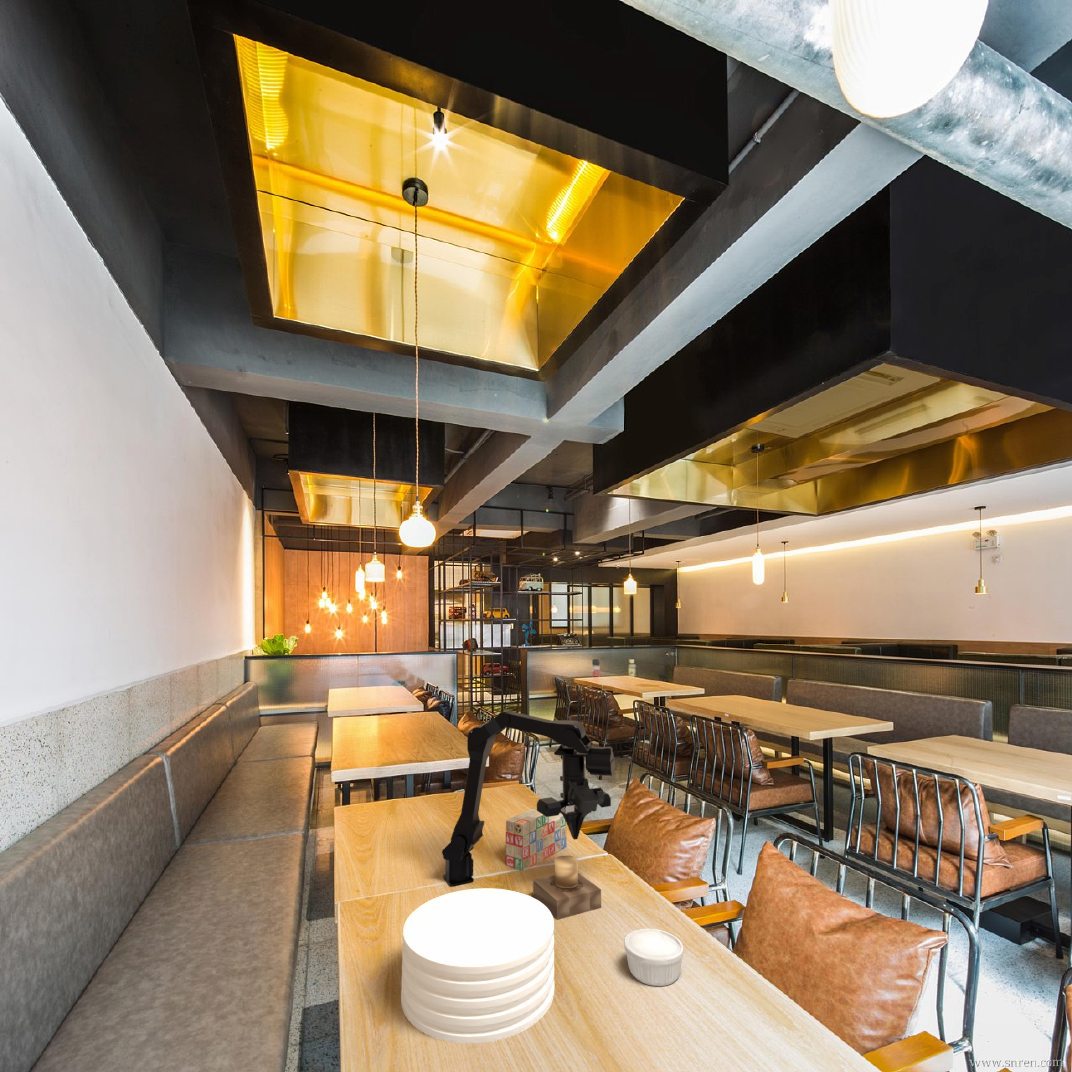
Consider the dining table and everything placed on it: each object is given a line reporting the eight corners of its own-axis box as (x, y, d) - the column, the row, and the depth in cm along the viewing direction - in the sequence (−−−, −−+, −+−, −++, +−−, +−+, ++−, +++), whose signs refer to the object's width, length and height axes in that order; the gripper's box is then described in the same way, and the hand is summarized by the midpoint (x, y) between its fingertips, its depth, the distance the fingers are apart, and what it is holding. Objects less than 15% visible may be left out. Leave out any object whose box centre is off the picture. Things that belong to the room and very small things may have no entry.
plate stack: (478, 932, 126) (479, 876, 127) (584, 982, 108) (583, 916, 110) (369, 997, 104) (371, 928, 106) (478, 1072, 87) (479, 988, 89)
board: (557, 919, 131) (556, 900, 131) (533, 897, 141) (533, 879, 142) (601, 907, 136) (600, 889, 137) (575, 887, 147) (574, 870, 147)
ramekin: (696, 976, 110) (695, 946, 111) (655, 999, 103) (654, 966, 104) (653, 950, 119) (652, 922, 120) (613, 968, 112) (612, 939, 113)
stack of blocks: (550, 842, 177) (549, 800, 179) (566, 847, 173) (566, 804, 175) (505, 866, 160) (505, 819, 162) (523, 871, 156) (522, 823, 158)
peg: (562, 908, 135) (561, 866, 136) (550, 897, 140) (550, 858, 141) (582, 902, 138) (582, 862, 139) (570, 892, 143) (570, 853, 144)
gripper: (555, 786, 135) (557, 857, 133) (622, 776, 143) (624, 843, 141) (535, 775, 145) (536, 841, 143) (598, 766, 153) (600, 828, 151)
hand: (575, 838), depth 144 cm, fingers closed
